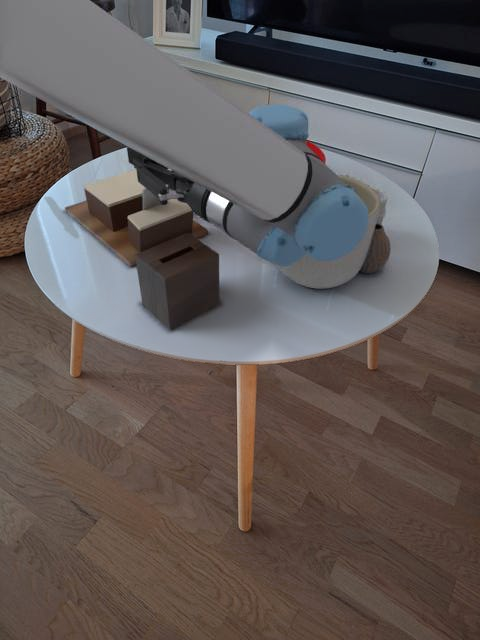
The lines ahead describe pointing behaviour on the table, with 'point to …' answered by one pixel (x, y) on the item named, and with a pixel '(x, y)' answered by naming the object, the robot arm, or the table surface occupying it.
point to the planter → (345, 267)
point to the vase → (377, 251)
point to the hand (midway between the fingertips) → (138, 151)
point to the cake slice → (159, 224)
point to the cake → (115, 199)
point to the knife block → (178, 279)
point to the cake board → (116, 239)
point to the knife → (150, 195)
